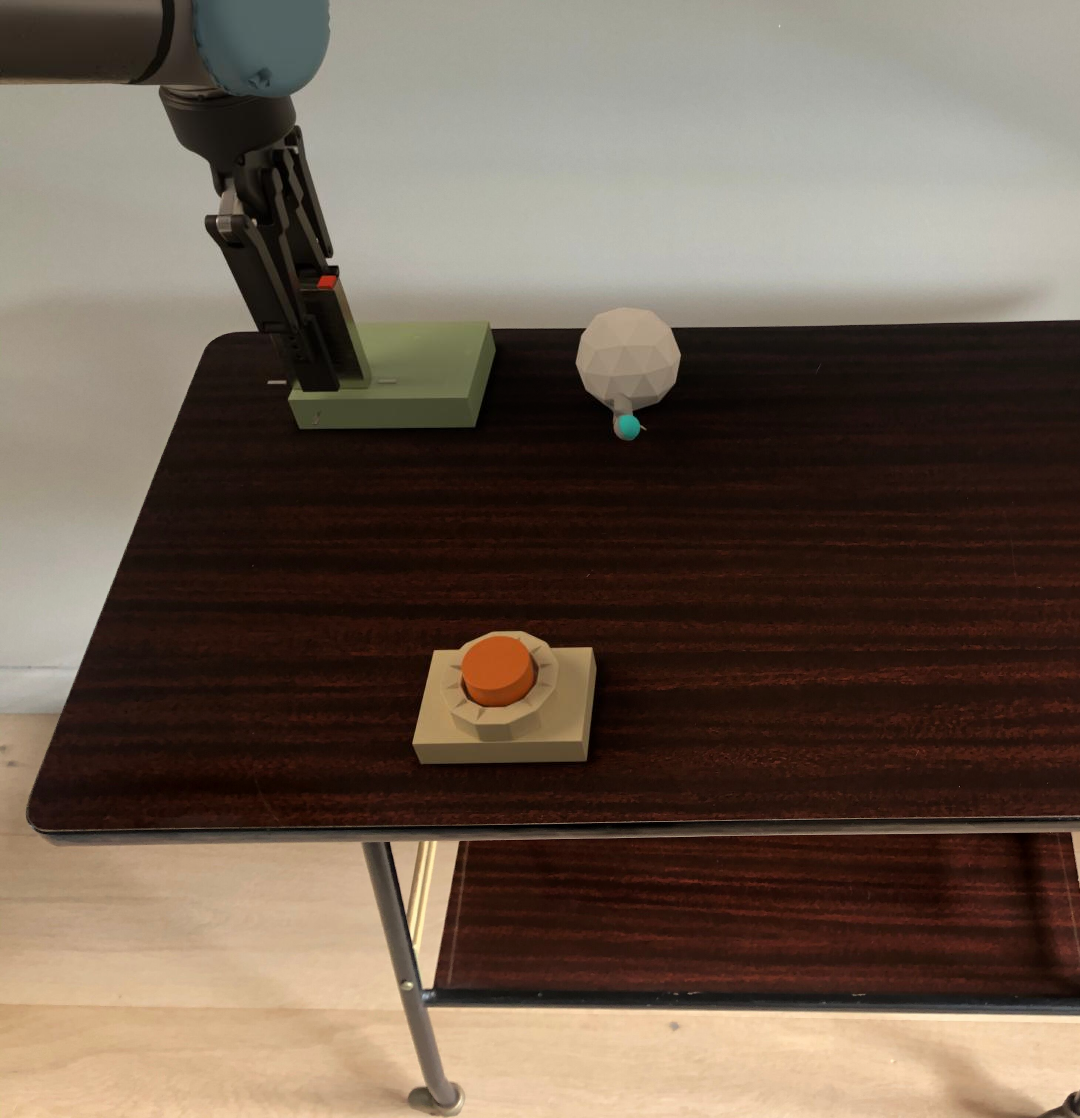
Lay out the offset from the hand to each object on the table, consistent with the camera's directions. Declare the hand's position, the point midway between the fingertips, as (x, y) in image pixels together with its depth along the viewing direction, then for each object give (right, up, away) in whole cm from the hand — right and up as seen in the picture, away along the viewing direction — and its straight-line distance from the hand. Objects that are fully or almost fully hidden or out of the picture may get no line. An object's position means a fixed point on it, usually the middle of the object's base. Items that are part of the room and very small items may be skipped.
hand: (328, 371), depth 88 cm
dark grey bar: (0, -1, +1) cm, 1 cm away
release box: (+18, -24, -18) cm, 35 cm away
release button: (+18, -22, -20) cm, 35 cm away
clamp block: (+3, -2, +4) cm, 5 cm away
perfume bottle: (+23, -3, +2) cm, 24 cm away
